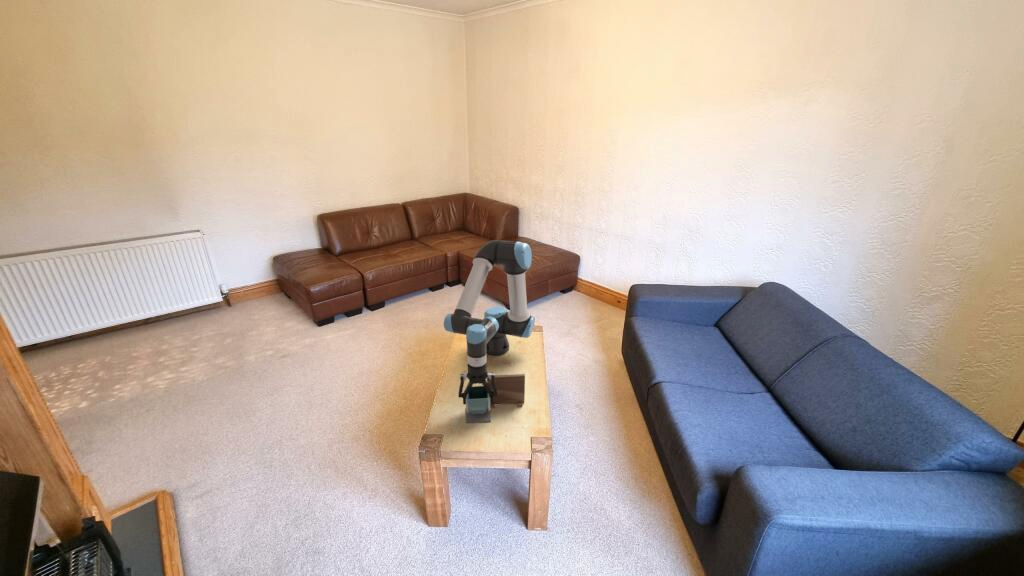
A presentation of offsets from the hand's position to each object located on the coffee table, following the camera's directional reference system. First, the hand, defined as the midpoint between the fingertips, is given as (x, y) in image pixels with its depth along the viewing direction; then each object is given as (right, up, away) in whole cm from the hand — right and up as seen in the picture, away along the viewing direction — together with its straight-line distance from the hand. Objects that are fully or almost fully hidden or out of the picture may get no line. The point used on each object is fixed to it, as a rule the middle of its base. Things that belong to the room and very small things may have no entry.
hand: (478, 409), depth 164 cm
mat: (0, -2, +1) cm, 3 cm away
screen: (+11, 0, +8) cm, 14 cm away
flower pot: (0, -1, 0) cm, 1 cm away
